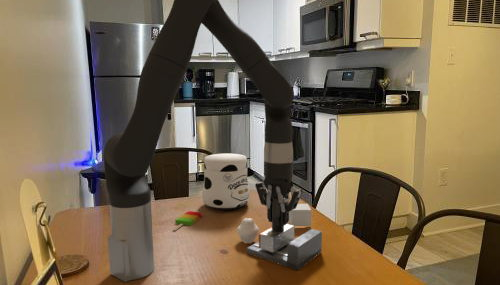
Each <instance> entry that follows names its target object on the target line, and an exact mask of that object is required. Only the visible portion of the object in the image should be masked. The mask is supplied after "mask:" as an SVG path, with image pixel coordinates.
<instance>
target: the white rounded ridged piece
mask: <svg viewBox="0 0 500 285" xmlns="http://www.w3.org/2000/svg"><path fill="white" fill-rule="evenodd" d="M259 229H260V228H259V227H258V225H257V224H256V223H255V221H254V219H253V218H251V217H245V218H243V219H242V220H241V223H240V224H239V225H238V226H237V228H236V231H237V232H236V233H237V234H238V236H239V238H240V240H241V241H242V243H243V242H244V244H246V243H249V244H253V243H254V242H255V240H256V238H257V236H258V235H259V231H260V230H259ZM252 242H253V243H252Z"/></svg>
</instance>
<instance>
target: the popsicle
mask: <svg viewBox="0 0 500 285" xmlns="http://www.w3.org/2000/svg"><path fill="white" fill-rule="evenodd" d="M202 217H203V216H202V212H199V211H193V210H192V211H186V212H185V213H184V214H182V215H181V216H179V217H178V218H176V219H175V221H174V222H175V223H174V224H176V225H177V226H175V227H174V228H173V229H172V231H173V232H175V231H177V230H179V229H180V228H181V227H182V226H189V227H191V226H192V225H193V224H194V222H195V223H196V222H197V221H199V220H200V219H201V218H202ZM199 218H200V219H199Z"/></svg>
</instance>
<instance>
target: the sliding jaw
mask: <svg viewBox="0 0 500 285" xmlns="http://www.w3.org/2000/svg"><path fill="white" fill-rule="evenodd" d="M283 199H284V198H283ZM281 212H282V211H281V205H280V203H279V200H278V198H277V197H272V222H271V227H269V228H268V229H265V230H263V231H262V232H260V233H258V242H259V247H260V248H261V249H264V250H267V251H270V252H275V251H277V250H278V249H280V248H282V247H283V246H285V245H286V244H288V243H290V242H291V241H293V240H294V239H295V228H294V226H293V225H290V223H287V224H286V225H284V226H283V225H281Z"/></svg>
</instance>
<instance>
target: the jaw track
mask: <svg viewBox="0 0 500 285" xmlns="http://www.w3.org/2000/svg"><path fill="white" fill-rule="evenodd" d="M322 241H323V231H322V230H318V229H315V228H310V229H309V230H307V231H306V232H304V233H303V234H301V235H299V236H298V237H296V238H294V240H293V241H291V242H290V243H288V244H286V245H285V246H283V247H282V248H280V249H278V250H277V251H275V252H270V251H267V250H264V249H261V248H260V247H259V241H257V242H255V243H252V245H250V246H248V247H246V253H247V254H248V253H249V255H251V254H252V255H251V256H254V255H255V257H257V256H258V257H257V258H260V257H261V258H260V259H263V258H264V259H263V260H265V259H267V260H266V261H268V260H270V261H269V262H271V261H273V262H272V263H274V262H275V264H277V263H279V264H278V265H280V264H281V265H280V266H283V265H284V266H283V267H286V266H287V267H286V268H288V267H290V268H289V269H291V268H292V269H291V270H294V269H295V271H299V270H301V269H302V268H304V267H305V266H306V265H307V264H309V263H310V262H311V261H312V260H311V259H313V258H314V257H315V256H316V255H318V254H319V253H320V252H321V253H322V247H323V246H322ZM319 255H320V254H319ZM319 255H318V256H319ZM315 258H316V257H315ZM315 258H314V259H315ZM314 259H313V260H314ZM310 260H311V261H310ZM309 261H310V262H309ZM308 262H309V263H308ZM306 263H307V264H306ZM305 264H306V265H305ZM304 265H305V266H304ZM300 268H301V269H300Z"/></svg>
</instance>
